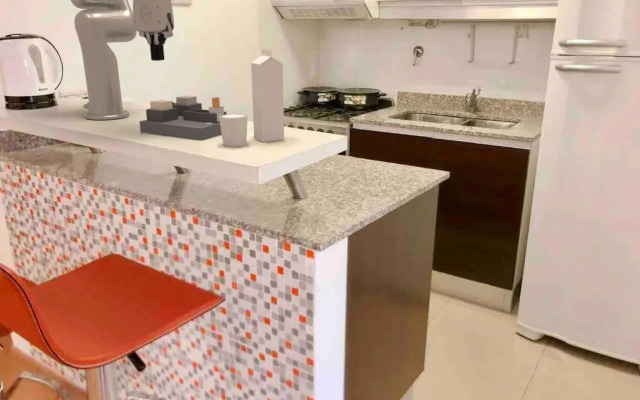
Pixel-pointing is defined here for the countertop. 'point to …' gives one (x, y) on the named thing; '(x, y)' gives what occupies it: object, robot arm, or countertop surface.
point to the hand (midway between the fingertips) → (158, 60)
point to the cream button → (161, 105)
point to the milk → (267, 98)
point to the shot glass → (234, 129)
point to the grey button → (186, 100)
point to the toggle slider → (216, 108)
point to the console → (182, 122)
